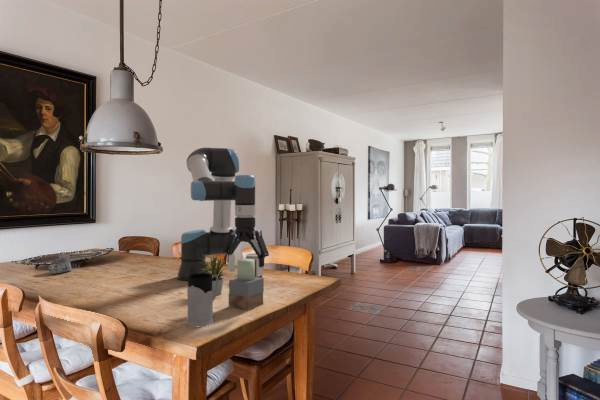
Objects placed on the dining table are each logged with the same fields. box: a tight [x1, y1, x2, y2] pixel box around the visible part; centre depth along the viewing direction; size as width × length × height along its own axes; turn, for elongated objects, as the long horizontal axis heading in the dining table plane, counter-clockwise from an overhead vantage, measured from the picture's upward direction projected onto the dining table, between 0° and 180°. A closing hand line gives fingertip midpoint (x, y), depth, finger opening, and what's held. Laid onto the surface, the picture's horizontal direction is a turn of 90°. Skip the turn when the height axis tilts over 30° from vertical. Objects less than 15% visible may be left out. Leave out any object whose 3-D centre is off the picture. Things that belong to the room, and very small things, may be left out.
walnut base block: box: [228, 292, 264, 312], centre depth 133 cm, size 9×9×5 cm
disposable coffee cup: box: [244, 252, 266, 278], centre depth 175 cm, size 10×10×12 cm
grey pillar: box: [186, 273, 218, 328], centre depth 118 cm, size 9×14×15 cm, turn 159°
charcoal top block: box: [228, 277, 265, 297], centre depth 133 cm, size 9×9×5 cm
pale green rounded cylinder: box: [236, 258, 255, 281], centre depth 133 cm, size 6×6×7 cm
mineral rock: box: [47, 253, 73, 275], centre depth 190 cm, size 13×11×10 cm
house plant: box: [199, 255, 229, 296], centre depth 149 cm, size 14×14×16 cm
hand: (245, 273), depth 133 cm, fingers open, 13 cm apart
